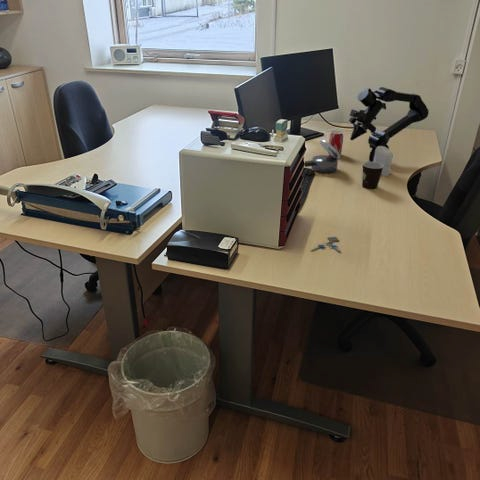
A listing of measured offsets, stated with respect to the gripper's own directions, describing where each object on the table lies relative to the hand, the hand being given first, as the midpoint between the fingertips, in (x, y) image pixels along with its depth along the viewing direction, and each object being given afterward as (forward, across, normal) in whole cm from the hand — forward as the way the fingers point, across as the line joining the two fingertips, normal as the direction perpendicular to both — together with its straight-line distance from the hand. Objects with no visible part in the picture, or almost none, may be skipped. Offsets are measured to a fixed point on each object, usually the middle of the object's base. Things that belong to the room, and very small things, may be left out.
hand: (351, 139), depth 212 cm
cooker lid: (+10, +3, -7) cm, 13 cm away
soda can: (+9, -18, +6) cm, 21 cm away
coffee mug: (+13, +25, +8) cm, 30 cm away
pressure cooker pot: (+21, +3, -6) cm, 22 cm away
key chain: (+40, +73, -18) cm, 85 cm away
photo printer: (+5, +11, +18) cm, 21 cm away
